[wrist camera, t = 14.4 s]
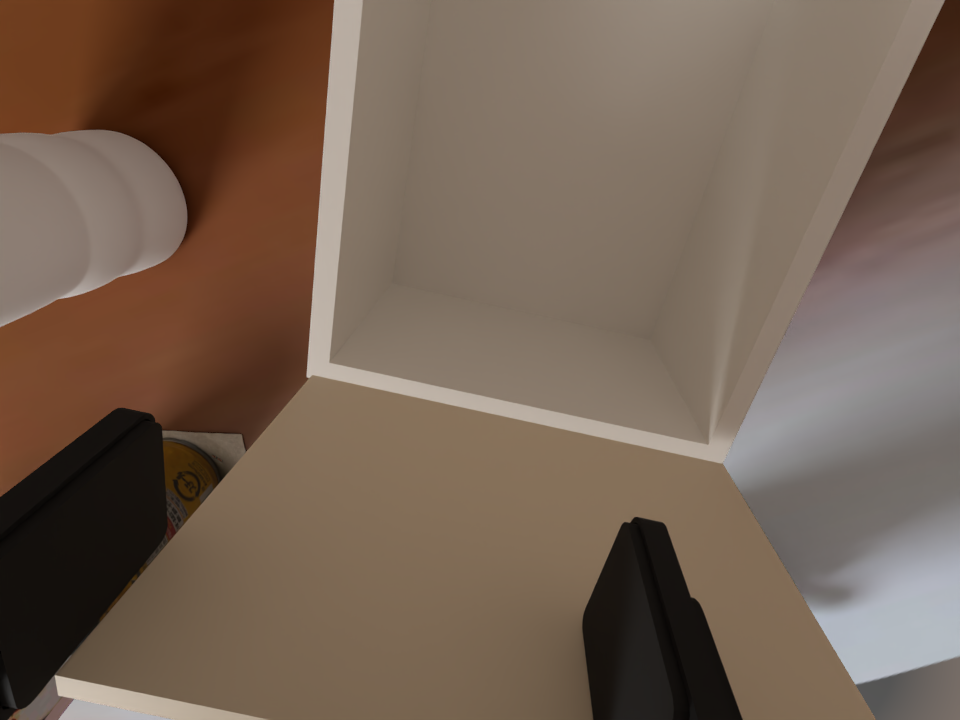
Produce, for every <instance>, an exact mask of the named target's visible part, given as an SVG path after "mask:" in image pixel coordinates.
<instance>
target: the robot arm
mask: <svg viewBox="0 0 960 720" xmlns="http://www.w3.org/2000/svg"><path fill="white" fill-rule="evenodd" d="M167 527H168V520H167V503H166V486H165V469H164V452H163V435H162V426H161V425H160V424H159V423H155V418H154V417H153V415H151V414H149V413H145V412H140V411H135V410H130V409H126V408H117V409H116V410H114V411H112V412H111V413H110V414H108V415H107V416H106V417H104V418H103V419H102V420H101V421H99V422H98V423H97V424H95V425H94V426H93V427H91V428H90V429H89V430H88V431H86V432H85V433H84V434H82V435H81V436H80V437H78V438H77V439H76V440H74V441H73V442H72V443H71V444H69V445H68V446H67V447H65V448H64V449H63V450H61V451H60V452H59V453H57V454H56V455H55V456H54V457H52V458H51V459H50V460H48V461H47V462H46V463H44V464H43V465H42V466H40V467H39V468H38V469H37V470H35V471H34V472H33V473H31V474H30V475H29V476H27V477H26V478H25V479H23V480H22V481H21V482H20V483H18V484H17V485H16V486H14V487H13V488H12V489H10V490H9V491H8V492H6V493H5V494H4V495H3V496H1V497H0V720H8V719H9V718H10V717H11V715H12V714H13V713H14V712H15V711H16V709H23V708H26V707H27V706H28V705H30V704H31V703H32V702H33V701H34V699H35V698H36V697H37V696H38V695H39V693H40V692H41V691H42V690H43V689H44V687H45V686H46V685H47V684H48V682H49V681H50V680H51V679H52V677H53V676H54V675H55V674H56V672H57V671H58V670H59V669H60V668H61V666H62V665H63V664H64V663H65V661H66V660H67V659H68V658H69V656H70V655H71V654H72V653H73V651H74V650H75V649H76V648H77V646H78V645H79V644H80V643H81V642H82V640H83V639H84V638H85V637H86V635H87V634H88V633H89V632H90V630H91V629H92V628H93V627H94V625H95V624H96V623H97V622H98V620H99V619H100V618H101V617H102V616H103V614H104V613H105V612H106V611H107V609H108V608H109V607H110V606H111V604H112V603H113V602H114V601H115V599H116V598H117V597H118V596H119V594H120V593H121V592H122V591H123V590H124V588H125V587H126V586H127V585H128V583H129V582H130V581H131V580H132V578H133V577H134V576H135V575H136V573H137V572H138V571H139V570H140V568H141V567H142V566H143V565H144V564H145V562H146V561H147V560H148V559H149V557H150V556H151V555H152V554H153V552H154V551H155V550H156V549H157V547H158V546H159V545H160V544H161V542H162V541H163V539H164V537H165V534H166V531H167ZM582 631H583V639H584V647H585V655H586V664H587V672H588V680H589V688H590V697H591V705H592V713H593V720H743V719H742V716H741V713H740V711H739V708H738V705H737V702H736V700H735V697H734V694H733V691H732V689H731V686H730V683H729V680H728V678H727V675H726V672H725V669H724V666H723V664H722V661H721V658H720V655H719V653H718V650H717V647H716V644H715V642H714V639H713V636H712V633H711V631H710V628H709V625H708V622H707V620H706V617H705V614H704V611H703V609H702V607H701V605H700V603H699V602H698V601H697V600H696V599H695V598H692V597H691V596H690V593H689V590H688V587H687V584H686V581H685V579H684V576H683V573H682V570H681V567H680V564H679V561H678V558H677V556H676V553H675V550H674V547H673V544H672V541H671V538H670V535H669V533H668V530H667V527H666V525H665V524H664V523H663V522H659V521H654V520H649V519H645V518H640V517H634V518H633V519H632V521H631V522H630V523H628V522H624V523H623V524H622V525H621V527H620V529H619V532H618V534H617V536H616V539H615V541H614V543H613V546H612V548H611V550H610V553H609V555H608V557H607V560H606V562H605V564H604V566H603V569H602V571H601V573H600V576H599V578H598V580H597V583H596V585H595V587H594V590H593V592H592V594H591V597H590V599H589V601H588V603H587V606H586V608H585V611H584V614H583V621H582Z"/></svg>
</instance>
